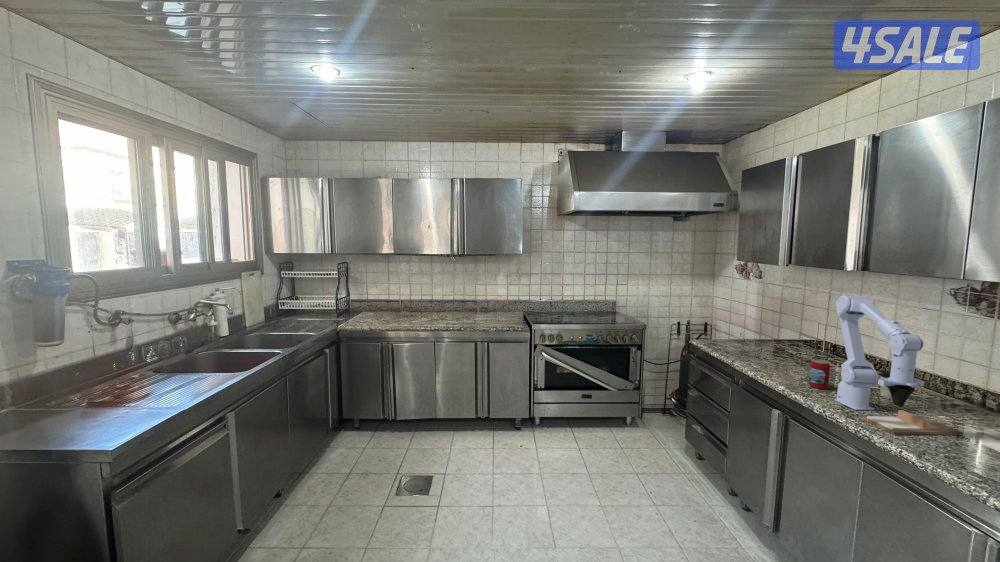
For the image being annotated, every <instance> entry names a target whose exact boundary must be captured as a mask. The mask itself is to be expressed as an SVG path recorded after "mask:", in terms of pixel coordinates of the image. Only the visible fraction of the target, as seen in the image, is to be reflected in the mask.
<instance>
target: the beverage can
mask: <svg viewBox="0 0 1000 562" xmlns="http://www.w3.org/2000/svg"><path fill="white" fill-rule="evenodd" d="M809 369H810V370H809V377H808V378H809V379H808V385H809V386H811V387H812V388H814V387H815V388H814V389H817V388H819V389H818V390H825V389H828V388H829V382H830V375H831V365H830V362H829V361H827V360H823V359H813V360H812V361H811V362H810V367H809Z"/></svg>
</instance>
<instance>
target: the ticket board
mask: <svg viewBox="0 0 1000 562" xmlns="http://www.w3.org/2000/svg"><path fill="white" fill-rule="evenodd" d="M896 416H897V415H860V416H859V418H860V420H862V421H864V420H865V421H864V422H866V421H867V422H866V423H868V422H869V423H868V424H870V423H871V424H870V425H872V424H873V426H874V425H875V426H874V427H876V426H877V428H878V427H879V428H878V429H881V430H883V431H885V430H886V431H885V432H887V431H888V432H887V433H889V432H890V433H889V434H891V433H892V434H891V435H893V434H894V435H893V436H925V435H926V436H934V435H935V436H953V435H954V436H955V435H956V436H959V435H960V436H961V435H963V432H962V431H960V430H958V429H955V428H953V427H950V426H948V425H946V424H943V423H941V422H938V421H936V420H934V419H931V418H929V417H926V416H924V415H917V416H918V417H920V418H923V419H925V420H927V423H929V424H931V425H934V426H936V427H939V428H940V430H922V429H921V428H920V427H917V426H915V425H913V424H911V423H908V422H906V421H904V420H901V419H899V418H897V417H896Z"/></svg>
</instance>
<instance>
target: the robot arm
mask: <svg viewBox="0 0 1000 562" xmlns="http://www.w3.org/2000/svg"><path fill="white" fill-rule="evenodd" d="M875 304H876V301H875V300H874V299H872V298H871V297H870V296H869V295H845V294H843V295H840V296H839V297H838V299H837V300H836V301H835V306H836V311H837V316H838V320H839V324H840V329H841V334H842V338H843V342H844V343H843V344H844V349H845V354H846V358H847V359H846V360H845V361H844V362H843V363H842V364H841V365H840V367H841V372H840V376H841V379H842V380H841V381H840V382H839V383H838V385H837V392H836V398H834V401H835V402H838V403H839V404H842V405H844V406H846V407H848V408H851V409H853V410H855V411H875V410H876V408H874V407H873V406H872V407H871V406H869V404H870V396H871V388H872V387H874V385H876V383H877V385H879V386H880V385H881V386H887V387H888V389H889V391H890V393H891V396H892V398H891V399H892V403H893V405H894V406H897V407H899V408H902V407H904V405H905V404H906V402H907V400H908V398H909V397H911V395H912V394H913V393H914V392H915V390H916V389H915V388H914V387H921V388H923V387H925V381H924V380H921V379H915V371H916V364H917V363H916V362H917V355H918V352H920V351H921V350H922V349H923V347H924V341H923V339H922V337H921V336H920V335H919V334H918V333H917V334H916V333H912V332H910V331H908V329H906V328H904V327H903V326H902V325H901V324H900V323H899V321H898V320H897V319H893V318H888V317H887V316H886V315H885V314H884V313H883V312H882V311H881V310H880V309H879V308H878V307H877V306H876V305H875ZM864 316H866V317H868V318H869V319H870V320H871V321H873V322H874V323H875V324H876V328H877V330H878V331H879V332H880V333H881V334H883V335H884V336H885V338H886V339H888V344H889V346H890V352H891V354H892V358H891V365H890V371H889V372H890V378H885V379H880V378H879V375H878V372H877V371H876V369H875V366H874V364H873V363H872V362H870V361H869V360H867V358H866V355H865V351H864V346H863V343H862V336H861V332H860V328H859V324H858V320H859V319H860V318H863V317H864Z"/></svg>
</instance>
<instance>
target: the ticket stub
mask: <svg viewBox="0 0 1000 562" xmlns="http://www.w3.org/2000/svg"><path fill="white" fill-rule="evenodd" d="M897 413H898V414H897V415H895V416H896V417H897V418H899V419H901V420H904V421H906V422H908V423H911V424H913V425H915V426H917V427H920V428H921V429H922V430H940V428H939V427H936V426H934V425H931V424H929V423H927V420H925V419H923V418H920V417H918V416H919V415H915V414H913V413H910V412H908V411H906V410H902V409H898V411H897Z"/></svg>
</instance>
